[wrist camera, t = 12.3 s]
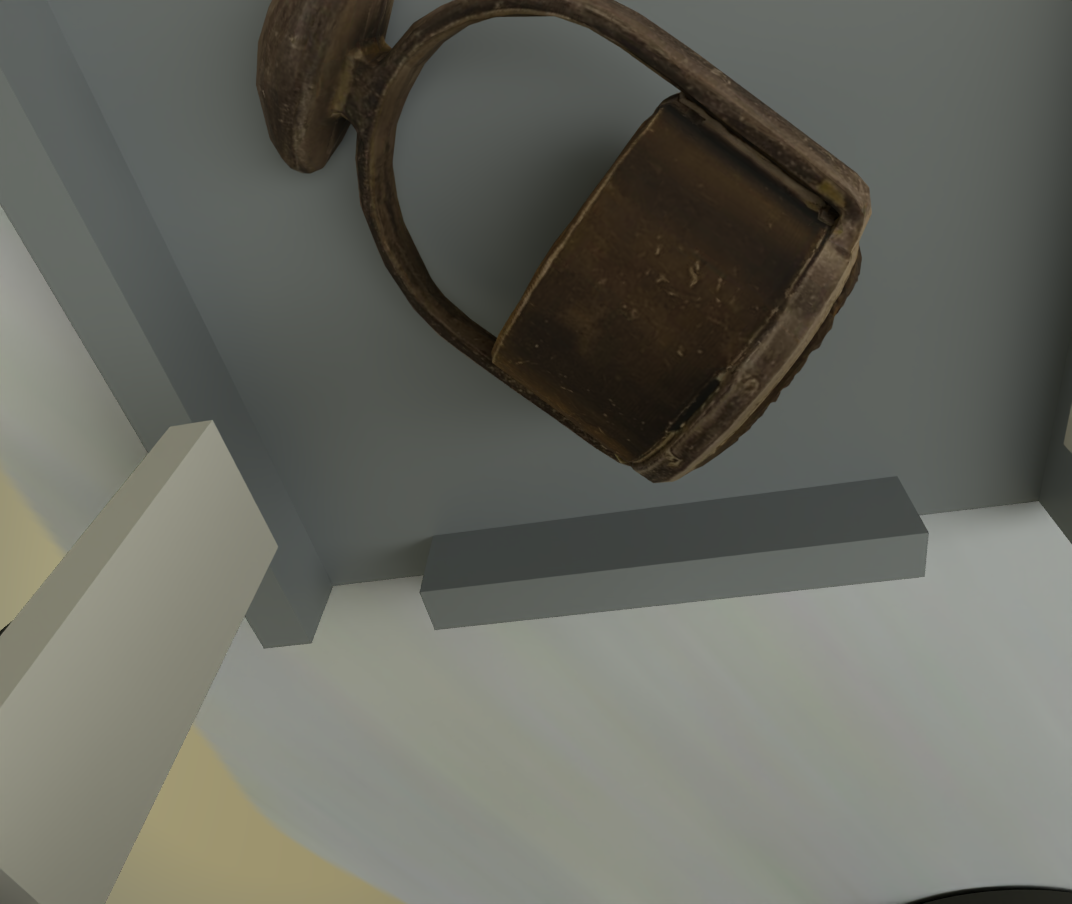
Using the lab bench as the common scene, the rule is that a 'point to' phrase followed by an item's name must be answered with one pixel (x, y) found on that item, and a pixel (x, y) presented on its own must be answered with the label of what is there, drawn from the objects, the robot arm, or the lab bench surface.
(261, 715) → the lab bench surface
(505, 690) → the lab bench surface
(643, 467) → the bucket with arched handle
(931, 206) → the dock
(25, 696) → the robot arm
